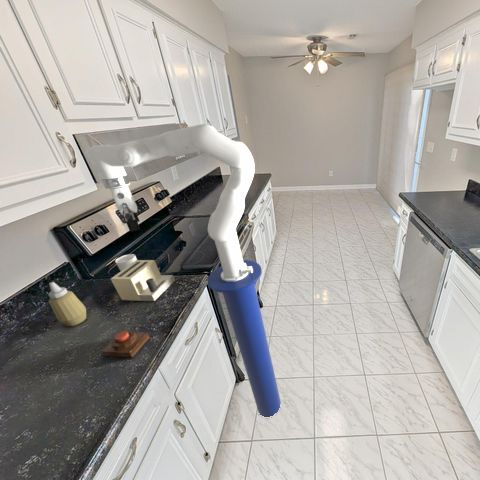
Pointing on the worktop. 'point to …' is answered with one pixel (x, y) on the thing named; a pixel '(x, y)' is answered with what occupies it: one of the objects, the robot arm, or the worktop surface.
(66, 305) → the squeeze bottle
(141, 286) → the toaster
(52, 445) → the worktop surface
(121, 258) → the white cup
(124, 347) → the base
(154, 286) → the toaster slider
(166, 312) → the worktop surface
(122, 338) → the timer button
